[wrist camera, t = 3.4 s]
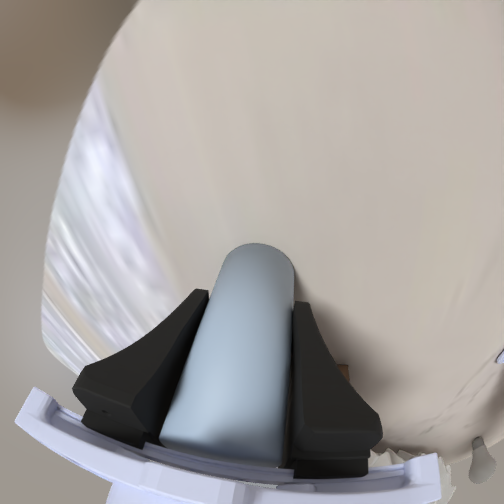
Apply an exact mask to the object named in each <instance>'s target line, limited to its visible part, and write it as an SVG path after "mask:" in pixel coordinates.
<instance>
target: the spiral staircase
mask: <svg viewBox="0 0 504 504" xmlns="http://www.w3.org/2000/svg"><path fill="white" fill-rule="evenodd" d="M370 453H371V456H370V458H368V468H370V467H379V466H388V465H395V464H401V463H405V462H406V461H407V460H409V459H411V458H413V457H417V456H421V455H426V454H425V453H423V454H422V453H420V452H418V454H417V456H414V455H412V454H410V453H407V452H405V451H403V450H400V449H399V451H398V453H397V454H396V453H395V452H393V451H392V450H391V449H390V448H387V449H386V451H385V452H384V453H375V452H373V451H372V450H371V449H370ZM438 464H439V472H440V482H441V495H442V498H441V499H439V500H437V501H434V502H431V503H428V504H448V502H449V500H450V498H451V496H452V495H453V493H454V491H455V489H456V487H455V486H451V466H450V465H449V466H445V464H444V461H443V459H442V457H439V458H438Z"/></svg>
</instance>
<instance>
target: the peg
mask: <svg viewBox="0 0 504 504" xmlns="http://www.w3.org/2000/svg"><path fill="white" fill-rule="evenodd" d="M293 301H294V269H293V266H292V264H291V262H290V260H289V259H288V258H287V256H286V255H284V254H283V253H282V252H281V251H279V250H278V249H276V248H274V247H272V246H269V245H265V244H259V243H252V244H245V245H242V246H239V247H237V248H235V249H234V250H232V251H231V252H230V253H229V254H228V255H227V257H226V258H225V260H224V263H223V265H222V268H221V270H220V273H219V275H218V278H217V280H216V283H215V286H214V288H213V291H212V293H211V296H210V299H209V301H208V304H207V306H206V309H205V312H204V314H203V317H202V320H201V322H200V325H199V328H198V330H197V333H196V336H195V338H194V341H193V344H192V346H191V349H190V352H189V355H188V357H187V360H186V363H185V365H184V368H183V371H182V374H181V377H180V379H179V382H178V385H177V388H176V390H175V393H174V396H173V399H172V402H171V405H170V407H169V410H168V413H167V416H166V419H165V422H164V425H163V427H162V430H161V433H160V436H159V440H160V442H161V443H162V444H163V445H164V446H165V447H166V448H168V449H171V450H174V451H178V452H182V453H186V454H190V455H194V456H199V457H203V458H208V459H213V460H218V461H224V462H230V463H236V464H243V465H250V466H258V467H268V468H277V467H279V466H280V465H281V464H282V457H283V448H284V438H285V427H286V416H287V404H288V392H289V378H290V362H291V345H292V322H293Z"/></svg>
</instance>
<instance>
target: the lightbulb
mask: <svg viewBox="0 0 504 504" xmlns="http://www.w3.org/2000/svg"><path fill="white" fill-rule="evenodd" d="M472 447H473V452H472V454H473V459H472V464H471V467H470V470H469V479H470V480H471V481H472V482H473V483H476V484H480V483H483V482H485V481H487V480H488V479H489V478H490V477H491V476H492V475H493V474H494V472H495V469H496V461H495V459H494V458H493V457H492V456H491V455H490V454H489V452H488V451H487V448H486V445H484V441H483V438H479V437H477V438H476V439H475V440H474V441H473V443H472Z"/></svg>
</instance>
